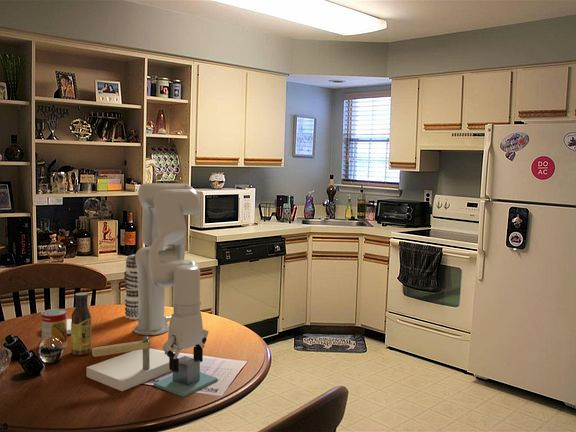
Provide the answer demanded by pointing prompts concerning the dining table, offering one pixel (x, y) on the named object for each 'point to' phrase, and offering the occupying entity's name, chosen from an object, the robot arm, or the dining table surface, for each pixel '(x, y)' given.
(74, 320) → the sauce bottle
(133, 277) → the decorative candle
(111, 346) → the lever
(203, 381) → the mat
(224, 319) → the dining table surface
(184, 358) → the grey stone cube
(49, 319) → the canned food
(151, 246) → the robot arm
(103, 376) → the white slab
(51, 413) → the dining table surface
